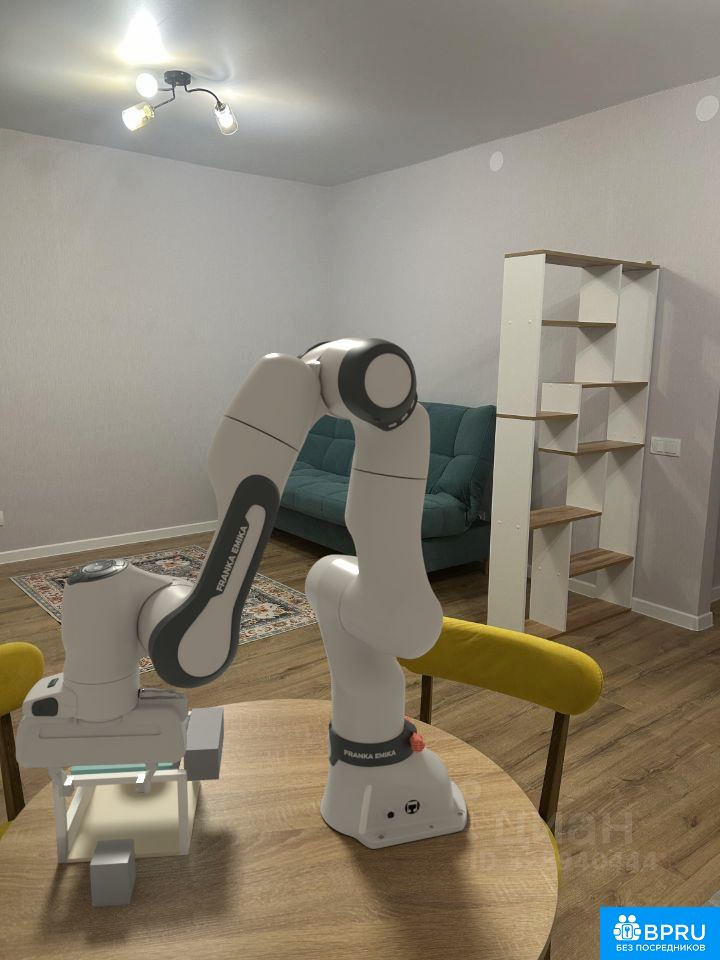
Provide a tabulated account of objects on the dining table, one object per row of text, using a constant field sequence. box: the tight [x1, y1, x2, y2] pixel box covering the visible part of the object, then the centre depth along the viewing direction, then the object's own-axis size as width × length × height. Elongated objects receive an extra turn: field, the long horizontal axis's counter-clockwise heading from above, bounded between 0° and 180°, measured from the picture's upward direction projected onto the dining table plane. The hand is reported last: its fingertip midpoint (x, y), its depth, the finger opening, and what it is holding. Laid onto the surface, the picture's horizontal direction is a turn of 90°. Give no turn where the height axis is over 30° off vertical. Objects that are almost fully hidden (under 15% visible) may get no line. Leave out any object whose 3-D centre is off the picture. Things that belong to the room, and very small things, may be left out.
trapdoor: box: [70, 706, 225, 781], centre depth 109 cm, size 20×14×5 cm
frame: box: [51, 710, 201, 864], centre depth 109 cm, size 18×18×12 cm
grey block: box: [89, 839, 137, 908], centre depth 95 cm, size 5×5×6 cm
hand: (105, 792), depth 93 cm, fingers open, 8 cm apart
